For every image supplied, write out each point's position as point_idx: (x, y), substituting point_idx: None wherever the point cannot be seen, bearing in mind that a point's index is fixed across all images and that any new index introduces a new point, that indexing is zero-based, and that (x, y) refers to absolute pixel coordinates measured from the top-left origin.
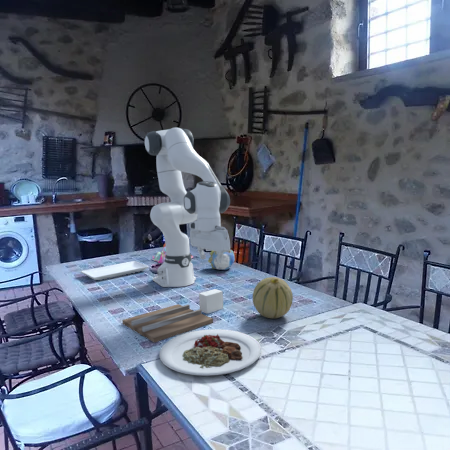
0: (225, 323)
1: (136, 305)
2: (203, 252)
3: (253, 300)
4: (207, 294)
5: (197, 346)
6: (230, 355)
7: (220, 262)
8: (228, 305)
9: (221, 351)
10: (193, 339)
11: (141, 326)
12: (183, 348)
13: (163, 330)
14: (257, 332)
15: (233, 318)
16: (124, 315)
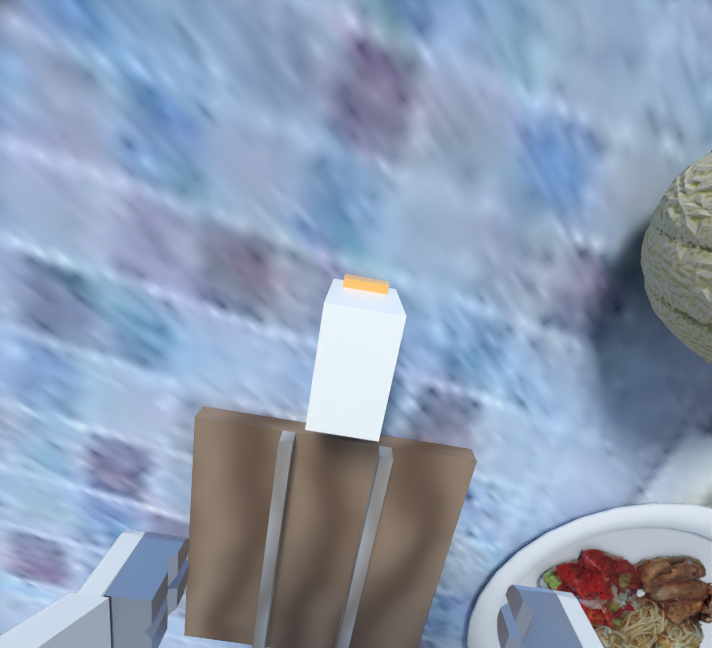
0: (524, 427)
1: (28, 485)
2: (72, 635)
3: (704, 356)
4: (364, 418)
5: None
6: (696, 615)
7: (564, 600)
8: (389, 233)
9: (665, 622)
10: None
11: (295, 636)
12: None
13: (389, 622)
14: (699, 428)
15: (524, 366)
16: None
